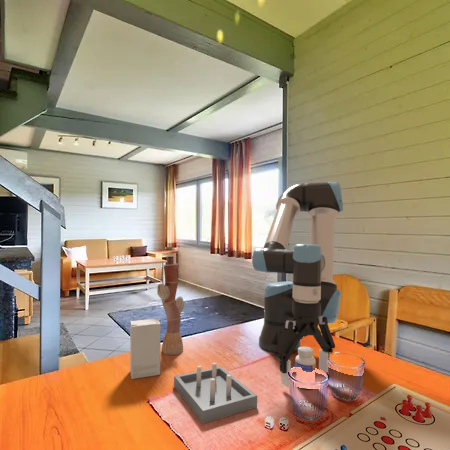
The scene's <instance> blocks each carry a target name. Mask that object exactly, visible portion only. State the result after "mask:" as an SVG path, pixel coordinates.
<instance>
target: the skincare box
mask: <svg viewBox="0 0 450 450" xmlns="http://www.w3.org/2000/svg"><path fill="white" fill-rule="evenodd" d="M161 329H162V328H161V322H160V320H159V319H158V318H148V319H138V320H130V324H129V336H130V337H129V340H130V341H129V343H130V345H129V349H130V354H129V355H130V356H129V358H130V359H129V362H130V363H129V365H130V367H129V371H130V376H131V377H130V378H131V380H135V379H140V378H147V377H154V376H161Z"/></svg>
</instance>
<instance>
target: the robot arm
mask: <svg viewBox="0 0 450 450" xmlns="http://www.w3.org/2000/svg"><path fill="white" fill-rule="evenodd" d="M343 204H344V203H343V195H342V188H341V184H340V183H339V182H336V181H327V182H326V181H323V182H300V183H297V184H294V185H292V186H290V187H289V188H288V189H286V190H285V191H283V193H281V195H279V198H278V199H277V202H276V204H275V210H276V212H275V215H274V217H273V220H272V222H271V225H270V228H269V231H268V234H267V237H266V240H265V242H264V246H263V247H257V248H255V249H254V250H253V252H252V258H251V261H252V262H251V263H252V267H253V269H254V270H255V271H256V272H263V273H273V274H274V273H277V274H290V275H291V274H292V281H290V280H289V281H279V282H271V283H268V284H267V285H266V286H265V287H264V296H263V297H264V298H263V301H264V303H263V306H264V307H263V310H264V311H263V312H264V313H263V314H264V315H263V326H262V327H261V328H262V329H261V332H260V335H259V337H258V345H259V348H261V349H263V350H266V351H268V352H271V353H273V357H274V358H276V359H278V360H279V371H280V372H281V382H280V383H281V384H282V385H284V386H285V387H287V388H290V387H289V378H288V372H289V371H291V368H292V365H291V364H292V361H291V360H290V357H291V356H292V354H293V353H296V352H298V348H299V347H302V346H301V340H302V339H304V337H308V336H312V337H313V339H315V341H316V343H317V344H318V345H319V347H320V348H321V349H319V350H318V370H319V369H321V370H323V371H325V372H328V373H329V363H328V364H327V360H328V358H329V359H330V353H331V354H332V353H333V351H334V349H335V348H336V344H335V341H334V339H333V336H332V332H331V330H330V327H329V324H334V323H336V322H337V320H338V316H339V311H340V306H341V300H342V299H341V298H342V291H341V290H340V289H338V285H337V283H336V282H335V281H334V276H333V275H334V254H335V253H334V251H335V220H336V219H337V218H339V216H340V213H341V212H343V211H344V205H343ZM301 212H303V213H304V212H306V213H307V214H308V215H307V216H308V217H309V218H310V219H311V225H310V238H309V239H310V240H309V243H297V244H294V245H293V249H288V245H289V241H290V238H291V235H292V231H293V227H294V224H295V221H296V217H297V216H298V215H299V214H300V213H301Z"/></svg>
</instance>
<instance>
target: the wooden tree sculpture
mask: <svg viewBox="0 0 450 450" xmlns="http://www.w3.org/2000/svg"><path fill="white" fill-rule="evenodd" d="M179 267H180V264H179V263H171V264H169V263H167V264H164V265H163V273H164V283H158V285H157V289H156V291H157V293H156V294H157V296H158V298H160V299H161V304H162V307H163V309H164V312H165V316H166V321H167V322H166V332H165V335H164V336H163V341H162V345H161V353H163V354H164V355H169V356H173V355H174V356H176V355H179V354H182V353H183V351H184V343H183V338H182V335H181V322H182V321H181V319H182V318H181V314H182V312H183V310H184V308H185V301H184V299H183V296H178V297H176V296H177V291H178V290H177V289H178V287H179V278H178V277H179V276H178V272H177V269H178V268H179Z"/></svg>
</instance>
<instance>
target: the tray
mask: <svg viewBox="0 0 450 450" xmlns="http://www.w3.org/2000/svg"><path fill="white" fill-rule="evenodd" d="M217 365H218V363H217V362H212V363H211V368H206V369H202V365H197V366H196V371H193V372H188V373H184V374H178V375H174V376H173V379H174V380H173V387H174V389H175V390H176V391H177V393H178V394H179V395H180V396H181V397H182V399H183V400H184V402H185V403H186V404H187V405H188V407H189V408H190V409H191V411H193V413H194V415H196V417H197V418H198V421H200V422H201V424H206V423H210V422H213V421H216V420H220V419H224V418H227V417H229V416H234V415H237V414H240V413H244V412H246V411H250V410H253V409H255V408H258V395H257V393H255V392H253V391H252V390H251V389H250V388H248V386H246V385H245V384H244V383H243V382H241V381H240V380H239V379H238V378H236V377H235V376H233V375H232V374H231V373H230V372H229V371H228V370H226V369H225V368H224V367H222V366H221V365H220V366H217Z"/></svg>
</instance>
